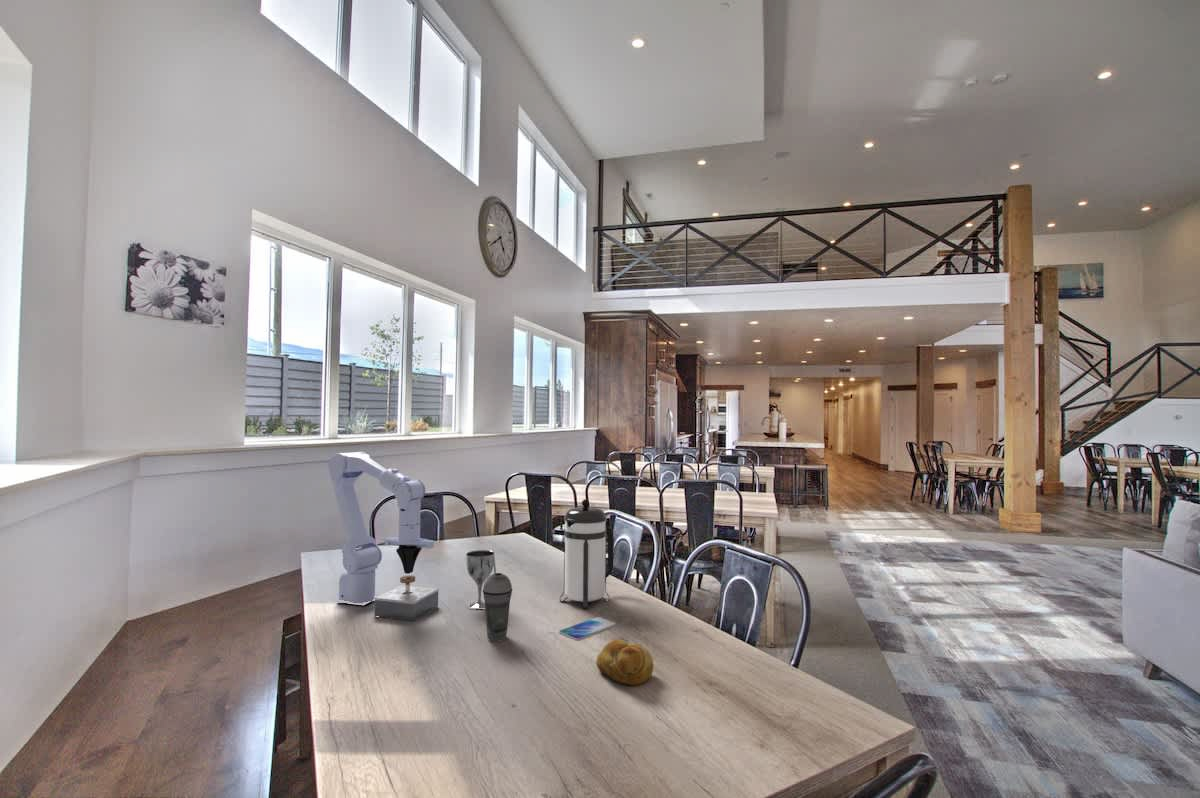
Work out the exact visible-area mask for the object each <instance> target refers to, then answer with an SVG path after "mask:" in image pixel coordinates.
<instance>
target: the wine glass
mask: <svg viewBox="0 0 1200 798" xmlns="http://www.w3.org/2000/svg"><path fill="white" fill-rule="evenodd" d="M465 555H466V556H465V561H466V562H465V563H466V564H465V565H466V570H467V573H468V575H469V577H471V579H472V580H473V581H474V583H475V585H476V586H477V593H478V599H477V601H475V603H474V602H471V603H472V604H471V603H469V604H470V607H471V608H485V601H482V592H483V587H484V583H485V581H486V580H487V578H488V577H489V576H491V575H492V574H493V573H492V572H493V571H494V566H493V555H494V556H495V551H493V550H488V549H478V550H471V551H468V552H467V553H466V554H465Z"/></svg>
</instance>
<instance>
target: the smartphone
mask: <svg viewBox="0 0 1200 798" xmlns="http://www.w3.org/2000/svg"><path fill="white" fill-rule="evenodd" d="M617 626H618V623H617V622H614V621H612V620H609V619H607V618H605V617H602V616H597V617H594V618H593V617H592V618H591V619H588V620H585V621H582V622H579V623H577V624H573V625H570V626H569V627H566V628H563V629H560V630H559V631H558V634H559V633H560V634H559V635H561V634H562V636H564V637H566V636H567V638H569V639H571V638H572V639H571V640H574V641H581V640H584V639H586V638H588V637H591V635H592V636H594V635H596V633H597V634H598V633H601V631H602V632H605V631H607V630H609V629H612V628H615V627H617ZM583 638H584V639H583Z"/></svg>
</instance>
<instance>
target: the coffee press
mask: <svg viewBox="0 0 1200 798" xmlns="http://www.w3.org/2000/svg"><path fill="white" fill-rule="evenodd" d="M581 505H582V506H577V507H573V508H570V509H568V510H567V512H566V513H565V515H564V516H563V520H564V525H565V526H564V527H565V528H564V531H563V532H564V535H563V536H564V540H563V544H564V545H563V550H564V551H563V553H564V554H563V555H564V556H563V571H564V590H563V592H562V593H561V595H560V596H559V601H560V602H561V600H563V601H564V602H565V601H566V600H567V599H569V600H573V601H575V602H582V609H583V610H588V609H589V602H594V601H598V600H600V599H603V600H604V601H605V602H607V601H606V600H608V602H610V601H611V598H610V595H609V594H608V593H607V578H608V577H609V576H610V575H611V573H612V571H613V569H614V561H615V559H614V556H615V555H614V553H615V552H614V544H615V543H614V542H615V540H614V532H613V530H612V528H611V527H610V526H607V525H606V522H607V520H608V517H607V515H606V513H605V512H604V511H603V509H601V508H598V507H593V506H589V505H590V501H589V500H588V499H586V498H585V499H582V501H581ZM605 593H606V595H607V597H608V599H606V598H605V597H604V596H605ZM563 595H565V598H564V599H561V598H562V596H563Z"/></svg>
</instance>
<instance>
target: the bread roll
mask: <svg viewBox="0 0 1200 798" xmlns="http://www.w3.org/2000/svg"><path fill="white" fill-rule="evenodd" d="M595 663H596V668H597V670H599V672H601V673H602V674H605V675H607V676H608V678H609V679H611V680H613V681H614V682H616V683H618V684H622V685H626V686H638V685H640V684H643V683H645V682H646V681H647V680H648V679H649V678H651V676H652V675H653V673H654V666H655V665H654V660H653V656H652V654H651V653H650V652H649V649H646V647H645V646H643V645H642V644H640V643H631V644H629V643H628V642H627V641H625V640H623V639H613V640H611V641H609V642H608V643H607V644H605V645H604V646H603V648H602V650H601V652H600V653H598V655H597V656H596V661H595Z"/></svg>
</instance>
